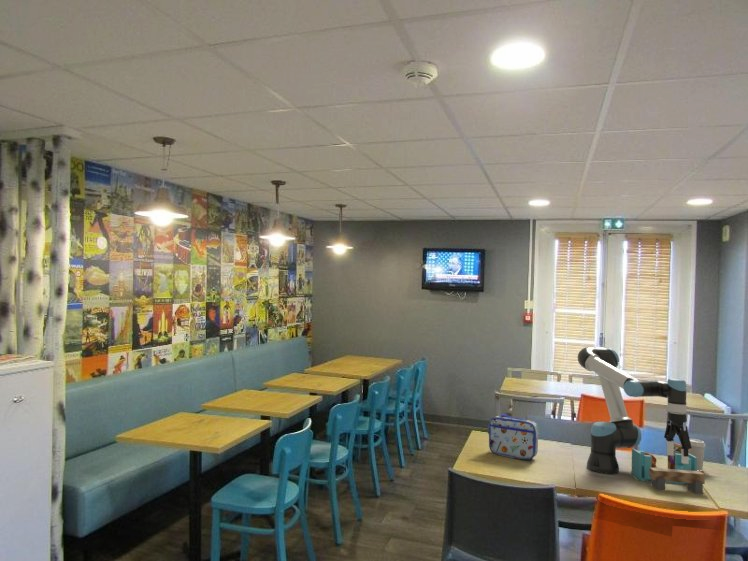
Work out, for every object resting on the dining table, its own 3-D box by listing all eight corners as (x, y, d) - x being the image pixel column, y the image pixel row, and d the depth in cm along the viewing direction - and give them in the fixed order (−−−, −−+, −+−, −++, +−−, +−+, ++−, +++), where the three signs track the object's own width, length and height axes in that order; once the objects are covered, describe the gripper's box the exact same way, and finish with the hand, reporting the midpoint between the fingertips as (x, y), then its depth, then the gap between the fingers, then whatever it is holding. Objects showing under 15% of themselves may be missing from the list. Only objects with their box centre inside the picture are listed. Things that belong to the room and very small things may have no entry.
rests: (658, 490, 225) (658, 478, 225) (651, 485, 232) (651, 473, 232) (702, 493, 223) (702, 482, 223) (694, 488, 230) (694, 477, 230)
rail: (653, 480, 227) (653, 470, 227) (649, 477, 231) (649, 467, 231) (704, 484, 224) (704, 474, 225) (699, 480, 229) (699, 471, 229)
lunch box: (484, 453, 273) (485, 413, 274) (490, 449, 282) (491, 410, 283) (534, 463, 258) (535, 421, 260) (539, 458, 267) (540, 417, 268)
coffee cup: (709, 473, 255) (709, 443, 255) (688, 471, 256) (688, 442, 257) (700, 467, 264) (700, 439, 265) (681, 465, 266) (681, 437, 267)
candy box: (689, 477, 247) (689, 446, 248) (684, 477, 245) (684, 446, 246) (672, 471, 255) (672, 441, 256) (667, 472, 253) (667, 442, 254)
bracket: (639, 480, 237) (639, 453, 238) (631, 474, 246) (631, 448, 247) (696, 485, 234) (696, 457, 235) (686, 478, 243) (686, 452, 244)
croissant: (634, 464, 277) (627, 451, 278) (651, 457, 275) (644, 444, 276) (645, 475, 256) (637, 460, 258) (664, 468, 254) (656, 453, 256)
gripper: (700, 418, 217) (700, 467, 215) (672, 408, 242) (672, 452, 240) (682, 417, 218) (682, 466, 216) (656, 407, 242) (656, 451, 241)
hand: (677, 459), depth 228 cm, fingers open, 13 cm apart
